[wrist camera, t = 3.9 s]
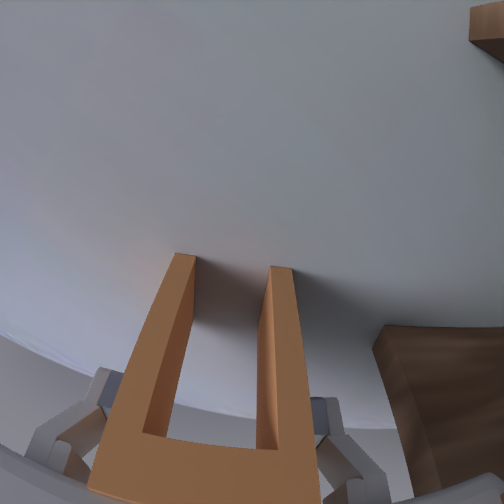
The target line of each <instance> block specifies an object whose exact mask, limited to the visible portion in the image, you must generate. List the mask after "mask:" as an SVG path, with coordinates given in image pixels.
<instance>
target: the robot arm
mask: <svg viewBox="0 0 504 504" xmlns="http://www.w3.org/2000/svg"><path fill="white" fill-rule="evenodd" d="M123 375H124V373H122V372H118V371H114V370H110V369H106V368H103V367H100V368H99V369H98V370H97V371H96V373H95V376H94V378H93V380H92V382H91V385H90V387H89V389H88V391H87V394H86V396H85V398H84V401H81V400H79V401H78V402H76V403H75V404H73V405H72V406H70V407H69V408H67V409H66V410H64V411H63V412H61V413H60V414H58V415H56V416H55V417H53V418H52V419H50V420H49V421H47V422H46V423H44V424H43V425H41V426H39V427H38V428H36V430H35V432H34V434H33V437H32V439H31V441H30V444H29V446H28V449H27V451H26V453H25V456H22V455H20V454H18V453H16V452H15V451H12V450H11V449H9V448H7V447H6V446H4V445H2V444H0V504H134V503H130V502H127V501H123V500H120V499H116V498H113V497H110V496H107V495H103V494H100V493H97V492H94V491H92V490H90V489H89V488H87V487H86V486H87V483H88V479H89V476H90V472H91V470H90V468H89V467H88V465H87V464H86V463H85V462H84V461H83V460H82V459H81V458H82V457H84V456H85V455H86V454H87V453H88V452H89V451H91V450H92V449H93V448H94V447H95V446H96V445H97V444H99V443H100V440H101V437H102V434H103V431H104V428H105V425H106V422H107V420H108V417H109V414H110V411H111V408H112V405H113V402H114V400H115V397H116V394H117V391H118V389H119V386H120V383H121V381H122V378H123ZM310 401H311V410H312V418H313V427H314V436H315V445H316V454H317V464H318V468H319V469H320V471H321V472H322V474H323V475H324V476H325V478H326V479H327V481H328V482H329V483H330V484H331V486H332V487H333V489H334V490H335V491H334V492H332V493H331V494H329V495H328V496H327V497H326V498H324V499H323V504H502V501H501V497H500V495H501V494H503V493H504V481H503V480H501V479H500V478H499V477H497V476H496V475H494V474H493V473H490V472H487V473H484V474H481V475H479V476H477V477H474V478H472V479H469V480H467V481H464V482H461V483H459V484H456V485H453V486H450V487H448V488H445V489H442V490H439V491H435V492H432V493H429V494H426V495H422V496H419V497H415V498H411V499H408V500H404V501H399V502H395V503H392V502H391V497H390V492H389V486H388V481H387V476H386V473H385V472H384V471H383V470H382V469H381V468H380V467H379V466H378V465H377V464H376V463H375V462H374V461H373V460H372V459H371V458H370V457H369V456H368V455H367V454H366V453H365V452H364V451H363V450H362V449H361V448H360V446H359V445H358V444H357V443H356V442H355V441H354V440H353V439H352V438H351V437H350V436H349V435H345V433H344V428H343V422H342V417H341V412H340V407H339V402H338V399H337V398H335V397H310Z"/></svg>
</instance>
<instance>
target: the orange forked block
mask: <svg viewBox="0 0 504 504" xmlns="http://www.w3.org/2000/svg"><path fill="white" fill-rule="evenodd" d="M195 267H196V256H192V255H184V254H177V253H175V255H174V257H173V259H172V262H171V264H170V266H169V268H168V270H167V272H166V275H165V277H164V279H163V281H162V284H161V286H160V288H159V290H158V293H157V295H156V297H155V299H154V302H153V304H152V306H151V309H150V311H149V313H148V316H147V318H146V320H145V323H144V325H143V328H142V330H141V332H140V335H139V337H138V340H137V342H136V345H135V347H134V350H133V352H132V355H131V357H130V360H129V362H128V365H127V368H126V370H125V373H124V375H123V378H122V381H121V383H120V386H119V389H118V391H117V394H116V397H115V400H114V402H113V405H112V408H111V411H110V414H109V417H108V420H107V422H106V425H105V428H104V431H103V434H102V437H101V440H100V443H99V447H98V450H97V453H96V456H95V459H94V462H93V466H92V469H91V472H90V476H89V479H88V483H87V486H86V487H87V488H89V489H90V490H92V491H94V492H97V493H100V494H103V495H107V496H110V497H113V498H116V499H120V500H123V501H127V502H130V503H134V504H321V496H320V485H319V475H318V464H317V454H316V445H315V436H314V427H313V418H312V410H311V401H310V393H309V386H308V378H307V370H306V363H305V355H304V348H303V341H302V334H301V327H300V320H299V314H298V307H297V301H296V294H295V288H294V281H293V275H292V269H290V268H282V267H274V266H270V271H269V276H268V281H267V286H266V291H265V296H264V300H263V305H262V310H261V315H260V319H259V324H258V343H257V421H256V424H257V425H256V449H246V448H235V447H225V446H216V445H208V444H201V443H193V442H188V441H182V440H176V439H171V438H166V435H167V431H168V426H169V421H170V417H171V412H172V407H173V403H174V399H175V394H176V390H177V385H178V381H179V377H180V372H181V368H182V364H183V360H184V356H185V351H186V347H187V343H188V339H189V335H190V331H191V327H192V323H193V314H194V287H195Z"/></svg>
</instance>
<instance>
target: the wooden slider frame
mask: <svg viewBox="0 0 504 504" xmlns="http://www.w3.org/2000/svg"><path fill="white" fill-rule="evenodd" d="M469 41H470V42H472V43H474V44H475V45H477V46H479V47H480V48H482V49H483V50H485V51H486V52H488V53H490V54H491V55H493V56H494V57H496V58H497V59H499V60H500V61H501V62H503V63H504V1H500V2H494V3H489V4H485V5H480V6H475V7H471V10H470V32H469ZM372 351H373V354H374V356H375V359H376V362H377V365H378V368H379V371H380V374H381V377H382V380H383V383H384V387H385V390H386V393H387V396H388V399H389V403H390V406H391V409H392V412H393V416H394V419H395V423H396V426H397V429H398V433H399V437H400V440H401V444H402V447H403V451H404V455H405V459H406V463H407V467H408V471H409V475H410V479H411V484H412V488H413V492H414V497H419V496H422V495H426V494H429V493H432V492H435V491H439V490H442V489H445V488H448V487H450V486H453V485H456V484H459V483H461V482H464V481H467V480H469V479H472V478H474V477H477V476H479V475H481V474H484V473H487V472H490V473H493V474H494V475H496V476H497V477H499V478H500V479H501V480H503V481H504V328H442V327H409V326H388V325H384V327H383V329H382V331H381V333H380V335H379V337H378V339H377V341H376V343H375V344H374V346H373V348H372ZM500 497H501V501H502V504H504V493H503V494H501V495H500Z"/></svg>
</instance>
